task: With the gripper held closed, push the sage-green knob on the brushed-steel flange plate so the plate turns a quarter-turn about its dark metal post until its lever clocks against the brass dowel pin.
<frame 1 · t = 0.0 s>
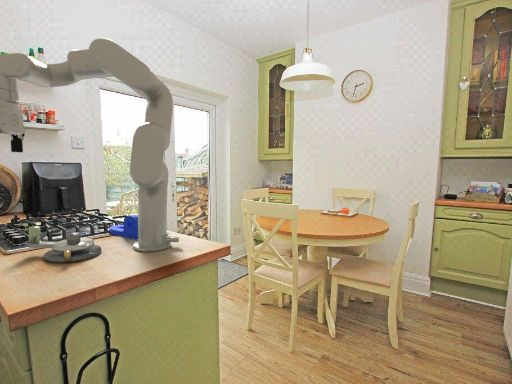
hand: (6, 151, 86), 31 cm above the countertop, fingers open, 9 cm apart
bracket: (128, 234, 111), on the countertop
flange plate: (61, 237, 84), point 6 cm above the countertop, hinge at 0.0°
post base: (74, 254, 85), on the countertop
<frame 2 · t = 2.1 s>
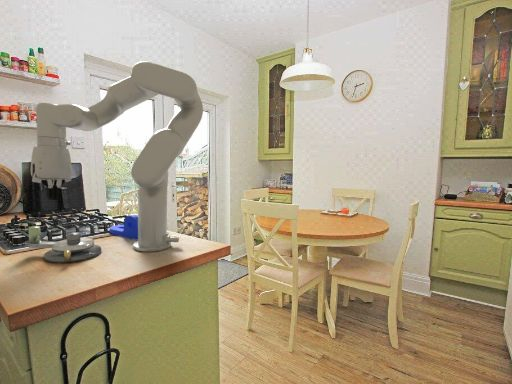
hand: (53, 199, 89), 16 cm above the countertop, fingers closed
nothing on the countertop moved.
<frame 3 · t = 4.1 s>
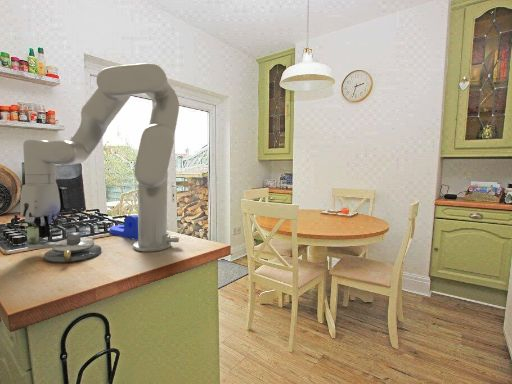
hand: (43, 236, 86), 5 cm above the countertop, fingers closed
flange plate: (61, 237, 84), point 6 cm above the countertop, hinge at 3.9°, touching gripper
everything else where it was.
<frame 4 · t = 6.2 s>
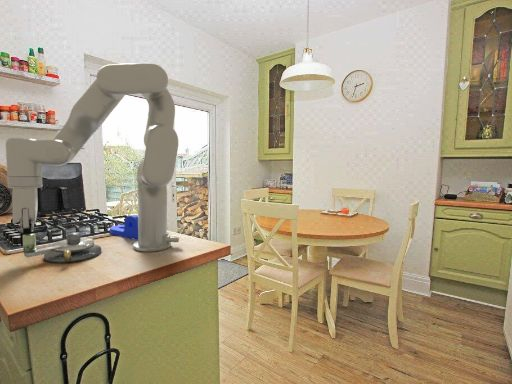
hand: (28, 244, 79), 5 cm above the countertop, fingers closed
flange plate: (60, 239, 82), point 6 cm above the countertop, hinge at 47.0°, touching gripper
everything else where it was.
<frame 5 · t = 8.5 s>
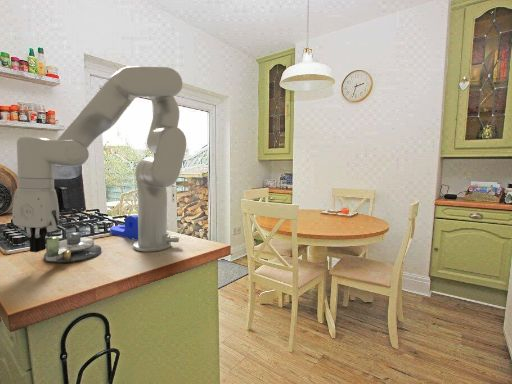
hand: (38, 250, 74), 5 cm above the countertop, fingers closed
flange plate: (67, 240, 81), point 6 cm above the countertop, hinge at 90.0°, touching gripper, post base
everything else where it was.
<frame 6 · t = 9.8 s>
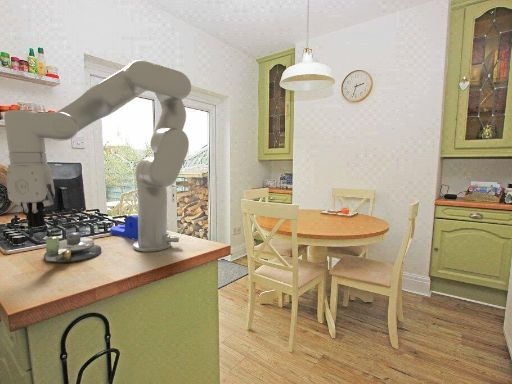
hand: (36, 225, 74), 12 cm above the countertop, fingers closed
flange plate: (67, 240, 81), point 6 cm above the countertop, hinge at 90.0°
everything else where it was.
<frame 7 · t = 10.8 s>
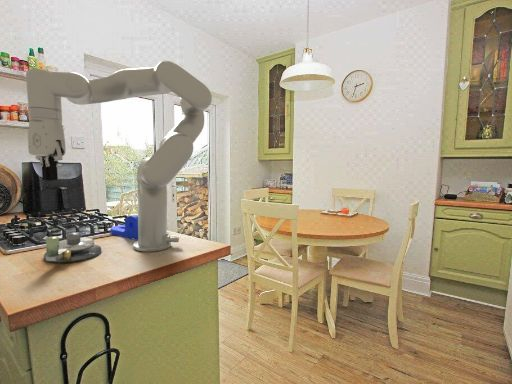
hand: (50, 180, 79), 24 cm above the countertop, fingers closed
nothing on the countertop moved.
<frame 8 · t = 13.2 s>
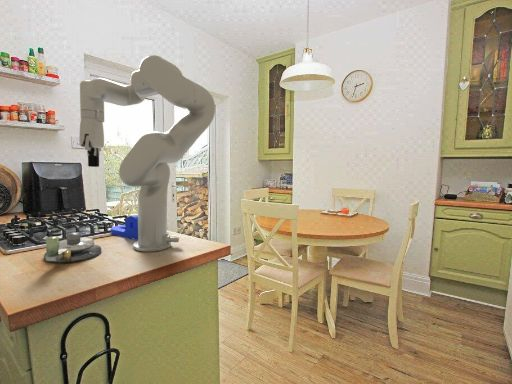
hand: (93, 166, 102), 27 cm above the countertop, fingers closed
at the end: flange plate at +90° (first picture: +0°) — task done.
